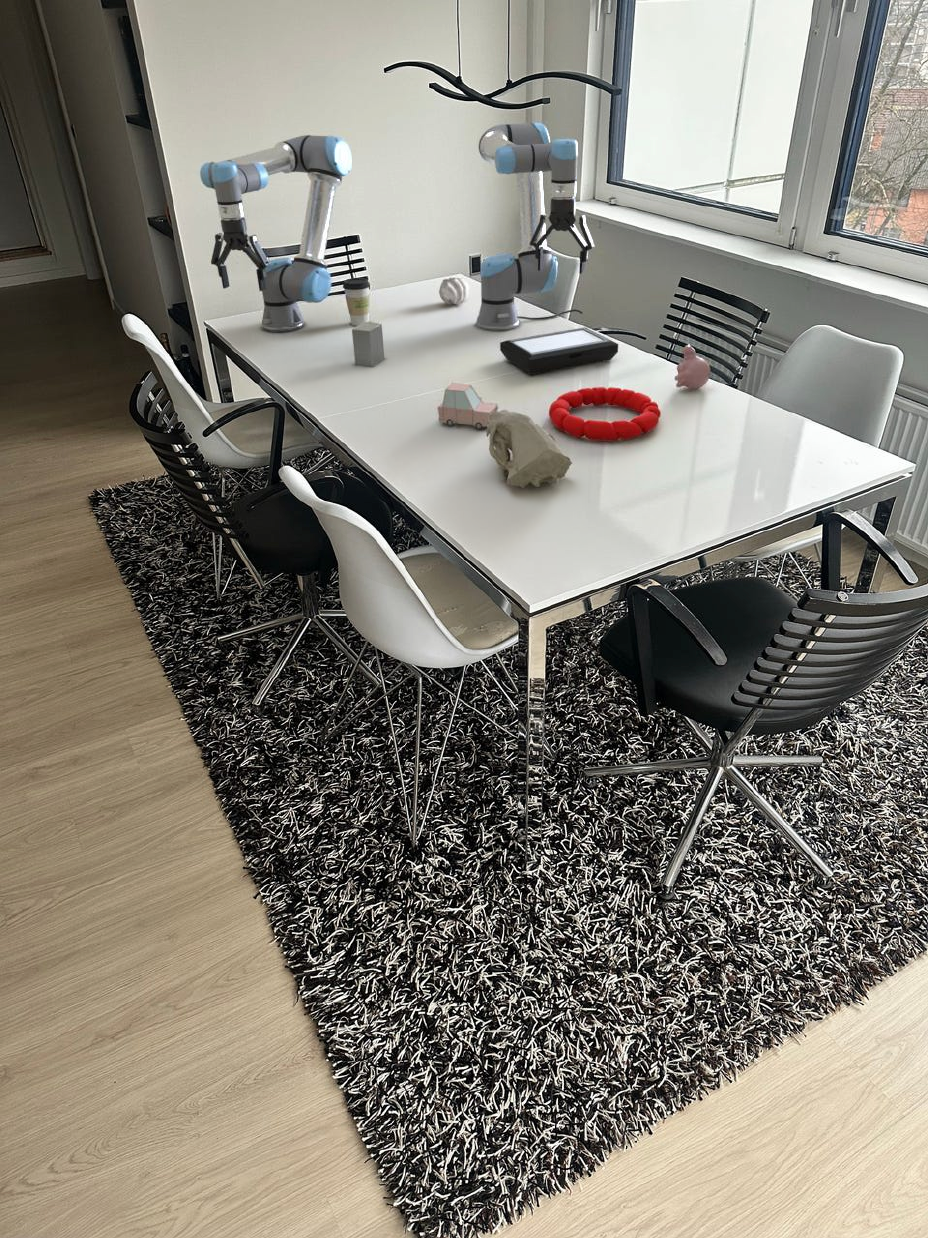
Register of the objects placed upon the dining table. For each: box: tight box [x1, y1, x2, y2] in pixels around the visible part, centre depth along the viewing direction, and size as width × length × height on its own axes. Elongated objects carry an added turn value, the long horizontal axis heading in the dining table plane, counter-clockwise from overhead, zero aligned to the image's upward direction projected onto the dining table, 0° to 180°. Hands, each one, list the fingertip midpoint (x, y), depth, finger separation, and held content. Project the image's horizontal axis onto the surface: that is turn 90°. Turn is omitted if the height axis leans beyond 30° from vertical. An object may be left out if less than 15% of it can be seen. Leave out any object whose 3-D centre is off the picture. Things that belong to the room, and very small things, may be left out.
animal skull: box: [485, 409, 573, 489], centre depth 216 cm, size 17×25×20 cm
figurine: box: [674, 344, 711, 390], centre depth 259 cm, size 9×11×12 cm
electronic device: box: [499, 326, 619, 376], centre depth 285 cm, size 32×6×20 cm
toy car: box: [437, 382, 499, 431], centre depth 243 cm, size 9×15×10 cm, turn 70°
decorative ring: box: [548, 386, 661, 442], centre depth 242 cm, size 7×30×30 cm
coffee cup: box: [342, 277, 371, 327], centre depth 323 cm, size 10×10×15 cm
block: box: [351, 321, 385, 368], centre depth 288 cm, size 6×8×12 cm
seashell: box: [438, 277, 470, 305], centre depth 341 cm, size 10×15×10 cm
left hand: (244, 288), depth 288 cm, fingers open, 13 cm apart
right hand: (560, 271), depth 280 cm, fingers open, 13 cm apart
